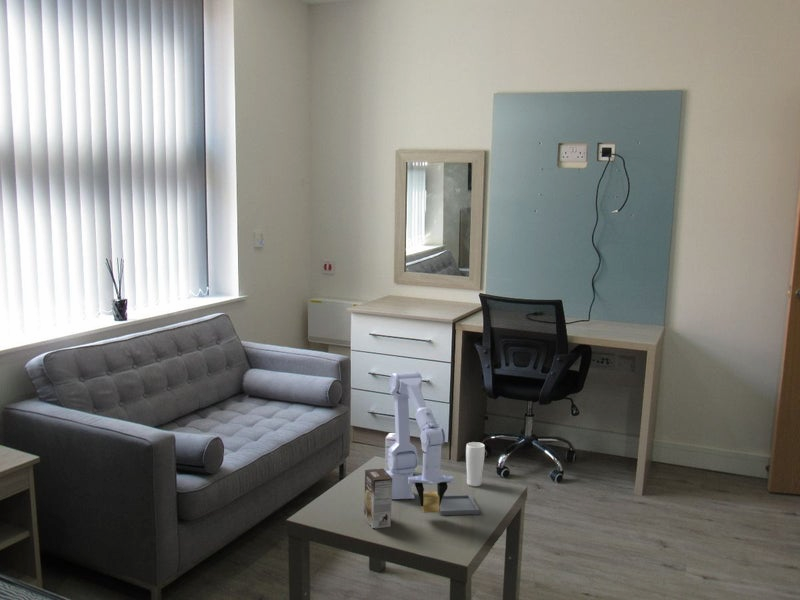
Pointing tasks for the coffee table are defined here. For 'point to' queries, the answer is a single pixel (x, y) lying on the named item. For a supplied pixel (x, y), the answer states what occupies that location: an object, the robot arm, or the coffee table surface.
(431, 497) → the cube
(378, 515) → the coffee box
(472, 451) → the drinking glass
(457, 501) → the tray
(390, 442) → the syrup box
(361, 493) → the coffee table surface
